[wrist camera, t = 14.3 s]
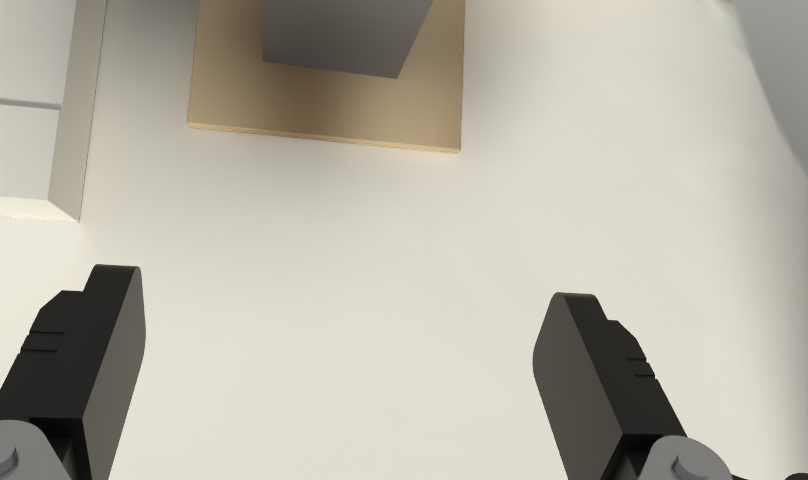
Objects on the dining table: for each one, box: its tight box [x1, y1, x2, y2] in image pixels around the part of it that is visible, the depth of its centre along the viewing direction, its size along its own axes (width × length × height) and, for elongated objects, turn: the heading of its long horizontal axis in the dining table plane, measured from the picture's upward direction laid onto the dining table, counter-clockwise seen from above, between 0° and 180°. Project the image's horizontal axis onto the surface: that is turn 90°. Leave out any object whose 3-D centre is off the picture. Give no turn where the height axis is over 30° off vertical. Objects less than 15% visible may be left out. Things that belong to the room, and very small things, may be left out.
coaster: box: [187, 0, 465, 153], centre depth 24 cm, size 9×9×1 cm
